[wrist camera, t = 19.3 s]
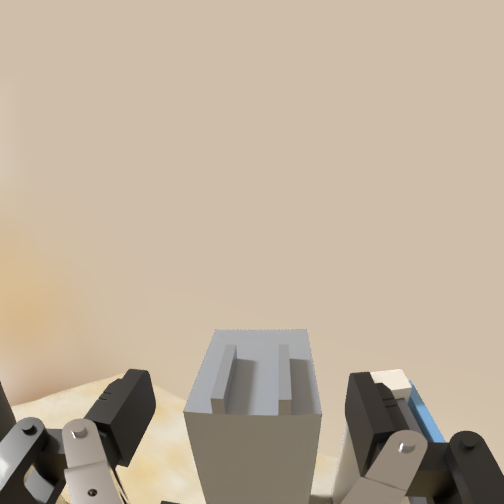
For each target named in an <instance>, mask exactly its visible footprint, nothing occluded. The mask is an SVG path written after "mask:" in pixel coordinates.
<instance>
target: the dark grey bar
mask: <svg viewBox="0 0 504 504" xmlns="http://www.w3.org/2000/svg"><path fill="white" fill-rule="evenodd" d="M371 376H372V378H373V380H374V383H381V382H382V383H383V384H385V385H386V386H387V387H388V388H390V389H391V391H392V393H393V395H394V397H395V399H396V401H397V403H398V406H399V408H400V410H401V412H402V414H403V416H404V418H405V420H406V422H407V424H408V426H409V429H410V430H412V431H416V432H418V433H420V434H422V432H421V430H420V428H419V426H418V424H417V422H416V420H415V418H414V416H413V414H412V412H411V410H410V408H409V406H408V400H409V397H410V393H411V389H412V386H411V385H410V383H409V381H408V380H407V378H406V376H405V375H404V373H403V371H402V370H401V369H396V370H388V371H379V372H371ZM422 435H423V434H422ZM408 499H409V502H410V504H427V500H426V497H408Z"/></svg>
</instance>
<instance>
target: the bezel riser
mask: <svg viewBox="0 0 504 504" xmlns="http://www.w3.org/2000/svg"><path fill="white" fill-rule="evenodd" d="M409 383H410V385H411V386H412V389H411V393H410V397H409V400H408V406H409V408H410V410H411V412H412V414H413V416H414V418H415V420H416V422H417V424H418V426H419V428H420V430H421V432H422V434H423V436H424V437H425V439H426V440H427V442H445V440H444V438H443V436H442V434H441V433H440V431H439V429H438V427H437V425H436V424H435V422H434V420H433V418H432V416H431V415H430V413H429V411H428V409H427V407H426V406H425V404H424V402H423V401H422V399H421V397H420V395H419V394H418V392H417V390H416V389H415V387H414V385H413V384H412V382H411V381H409ZM359 478H360V473H359V469H358V465H357V460H356V456H355V452H354V448H353V444H352V440H351V436H350V432H349V428H348V425H347V421H346V426H345V432H344V437H343V441H342V447H341V451H340V456H339V460H338V464H337V469H336V473H335V477H334V481H333V485H332V489H331V493H332V501H333V504H340V503H341V502H342V501H343V500H344V498H345V497H346V496H347V494H348V493H349V492H350V490H351V489H352V488H353V486H354V485H355V483H356V482H357V481H358V479H359ZM400 504H410V502H409V499H408V497H405V496H404V498H403V500H402V502H401V503H400Z"/></svg>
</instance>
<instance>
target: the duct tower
mask: <svg viewBox="0 0 504 504" xmlns="http://www.w3.org/2000/svg"><path fill="white" fill-rule="evenodd" d="M183 413H184V417H185V422H186V426H187V431H188V435H189V439H190V444H191V448H192V452H193V456H194V460H195V464H196V468H197V472H198V475H199V479H200V483H201V486H202V490H203V493H204V497H205V500H206V504H309V498H310V493H311V487H312V481H313V475H314V469H315V462H316V456H317V449H318V441H319V434H320V425H321V418H322V411H321V405H320V399H319V393H318V387H317V381H316V376H315V370H314V365H313V359H312V354H311V348H310V343H309V338H308V333H307V329H299V330H298V329H296V330H215V332H214V335H213V337H212V340H211V342H210V345H209V347H208V350H207V352H206V355H205V357H204V360H203V362H202V365H201V367H200V370H199V372H198V375H197V377H196V380H195V383H194V385H193V388H192V390H191V393H190V395H189V398H188V400H187V403H186V405H185V408H184V411H183Z"/></svg>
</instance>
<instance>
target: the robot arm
mask: <svg viewBox="0 0 504 504" xmlns="http://www.w3.org/2000/svg"><path fill="white" fill-rule="evenodd" d="M155 408H156V400H155V396H154V392H153V387H152V383H151V378H150V374H149V372H148V371H146V370H137V369H129V370H128V371H127V373H126V374H125V375H124V377H123V378H122V379H117V380H115V381H114V382H112V383H111V384H109V385H108V386H107V388H106V389H105V390H104V392H103V393H102V394H101V396H100V397H99V400H97V401H96V402H95V404H94V405H93V406H92V408H91V409H90V410H89V412H88V413H87V414H86V416H85V417H84V418H83V419H75V420H72V421H70V422H68V423H67V424H66V425H65V426H64V427H63V429H46V428H45V426H44V424H43V422H42V421H41V420H40V419H38V418H34V417H28V418H24V419H22V420H20V421H18V422H17V423H16V420H15V417H14V414H13V412H12V409H11V407H10V405H9V403H8V400H7V398H6V396H5V393H4V391H3V388H2V385H1V382H0V504H67V503H66V502H65V500H64V499H63V497H62V496H61V495H60V494H61V492H62V490H63V488H64V486H65V485H66V483H67V488H68V492H69V496H70V500H71V504H131V503H130V501H129V499H128V497H127V494H126V492H125V490H124V487H123V485H122V483H121V480H120V478H119V475H118V473H117V471H116V469H115V468H116V466H117V465H120V466H125V467H128V466H129V464H130V461H131V459H132V457H133V455H134V453H135V451H136V449H137V447H138V445H139V443H140V441H141V439H142V437H143V435H144V433H145V431H146V429H147V427H148V425H149V423H150V421H151V419H152V417H153V415H154V412H155ZM345 417H346V421H347V425H348V428H349V432H350V436H351V440H352V444H353V448H354V452H355V456H356V460H357V465H358V469H359V473H360V478H359V479H358V481H357V482H356V483H355V485H354V486H353V488H352V489H351V490H350V492H349V493H348V494H347V496H346V497H345V498H344V500H343V501H342V502H341V503H340V504H400V503H401V502H402V500H403V498H404V496H405V497H426V500H427V504H504V475H503V474H502V472H501V470H500V468H499V466H498V464H497V462H496V460H495V459H494V457H493V455H492V453H491V451H490V450H489V448H488V446H487V444H486V443H485V441H484V439H483V438H482V437H481V436H480V435H479V434H477V433H475V432H472V431H461V432H458V433H456V434H455V435H454V436H452V438H451V439H450V442H449V443H446V442H427V440H426V439H425V437H424V436H423V435H422V434H420V433H418V432H416V431H412V430H410V429H409V426H408V424H407V422H406V420H405V418H404V416H403V414H402V412H401V410H400V408H399V406H398V403H397V401H396V399H395V397H394V395H393V393H392V391H391V389H390V388H388V387H387V386H386V385H385V384H383V383H382V382H381V383H374V380H373V378H372V376H371V374H370V372H359V373H351V374H350V376H349V382H348V388H347V395H346V402H345ZM161 504H178V503H172V502H167V501H162V502H161Z"/></svg>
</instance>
